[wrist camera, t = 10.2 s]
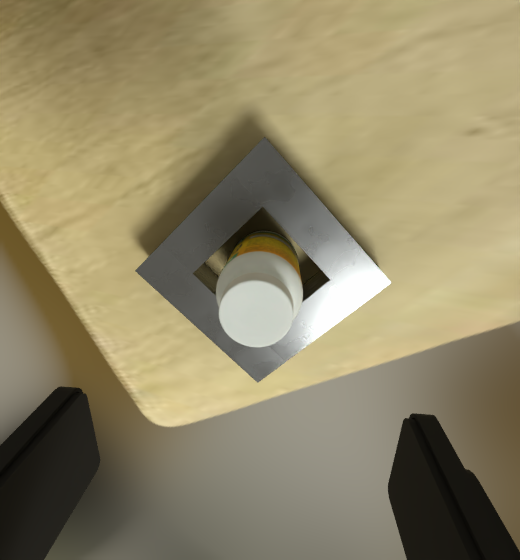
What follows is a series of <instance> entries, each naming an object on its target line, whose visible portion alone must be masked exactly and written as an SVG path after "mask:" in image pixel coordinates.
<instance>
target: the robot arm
mask: <svg viewBox="0 0 520 560" xmlns="http://www.w3.org/2000/svg"><path fill="white" fill-rule="evenodd" d="M99 463H100V456H99V451H98V446H97V441H96V437H95V432H94V427H93V422H92V418H91V413H90V408H89V403H88V398H87V395H86V394H83V392H82V390H81V389H80V388H72V387H58V388H57V389H55V390H54V391H53V392H52V393H51V394H50V395H49V397H47V399H46V400H45V401H44V402H43V403H42V404H41V405H40V406H39V407H38V408H37V409H36V410H35V411H34V412H33V413H32V414H31V415H30V416H29V417H28V418H27V419H26V420H25V421H24V422H23V423H22V424H21V425H20V426H19V427H18V428H17V429H16V430H15V431H14V432H13V433H12V434H11V435H10V436H9V437H8V438H7V439H6V440H5V441H4V442H3V444H1V446H0V560H44V559H45V557H46V555H47V554H48V552H49V550H50V549H51V547H52V545H53V544H54V542H55V540H56V539H57V537H58V535H59V533H60V532H61V530H62V529H63V527H64V525H65V523H66V522H67V520H68V518H69V517H70V515H71V513H72V512H73V510H74V509H75V507H76V505H77V503H78V502H79V500H80V499H81V497H82V495H83V493H84V492H85V490H86V489H87V487H88V485H89V483H90V482H91V480H92V478H93V477H94V475H95V473H96V472H97V470H98V467H99ZM388 494H389V499H390V503H391V506H392V509H393V513H394V516H395V520H396V523H397V527H398V530H399V534H400V537H401V541H402V544H403V547H404V551H405V554H406V558H407V560H520V552H519V550H518V548H517V547H516V545H515V543H514V541H513V540H512V538H511V536H510V534H509V533H508V531H507V529H506V527H505V526H504V524H503V522H502V520H501V519H500V517H499V515H498V513H497V512H496V510H495V508H494V507H493V505H492V503H491V501H490V500H489V498H488V496H487V494H486V493H485V491H484V489H483V487H482V486H481V484H480V482H479V481H478V479H477V478H476V476H475V475H474V474H473V473H472V472H471V471H470V470H466V469H465V468H464V466H463V465H462V463H461V461H460V459H459V458H458V456H457V454H456V452H455V450H454V449H453V447H452V445H451V443H450V441H449V439H448V438H447V436H446V434H445V432H444V431H443V429H442V427H441V425H440V423H439V421H438V420H437V418H436V417H435V416H434V415H425V414H411V415H410V417H409V419H407V418H405V419H404V420H403V424H402V428H401V432H400V437H399V441H398V445H397V450H396V454H395V458H394V462H393V466H392V471H391V475H390V479H389V483H388Z"/></svg>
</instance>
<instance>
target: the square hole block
mask: <svg viewBox="0 0 520 560" xmlns="http://www.w3.org/2000/svg"><path fill="white" fill-rule="evenodd" d="M262 207H264V208H265V210H266V211H267V212H268V213H269V214H270V215H271V216H272V217H273V218H274V219H275V220H276V221H277V223H278V224H279V225H280V226H281V227H282V228H283V229H284V230H285V231H286V232H287V233H288V234H289V235H290V237H291V238H292V239H293V240H294V241H295V242H296V243H297V244H298V245H299V246H300V247H301V248H302V250H303V251H304V252H305V253H306V254H307V255H308V256H309V257H310V258H311V259H312V260H313V261H314V263H315V264H316V265H317V266H318V267H319V268H320V269H321V271H319V272H318V273H317V274H316V275H315V276H313V277H312V278H311V279H310V280H308V281H307V282H306V283H305V284H304V285H302V287H303V300H302V305H301V308H300V310H299V312H298V314H297V316H296V317H295V318H294V320H293V321H292V325H291V327H290V329H289V331H288V332H287V334H286V335H285V336H284V337H283V338H282V339H281V340H279V341H278V342H276V343H274V344H272V345H269V346H265V347H249V346H245V345H242V344H240V343H238V342H236V341H234V340H233V339H232V338H231V337H229V336H228V335H227V333H226V332H225V331H224V329H223V327H222V325H221V323H220V319H219V306H218V303H217V299H216V286H217V281H218V278H219V277H218V276H217V275H216V274H215V273H214V272H213V271H212V270H211V269H210V268H208V267H207V266H206V265H205V264H204V262H205V261H206V260H207V259H208V258H209V257H210V256H211V255H212V254H213V253H215V252H216V251H217V250H218V249H219V248H220V247H221V246H222V245H223V244H224V243H225V242H226V241H227V240H228V239H229V238H230V237H231V236H232V235H233V234H234V233H235V232H237V231H238V230H239V229H240V228H241V227H242V226H243V225H244V224H245V223H246V222H247V221H248V220H249V219H250V218H251V217H252V216H253V215H254V214H255V213H256V212H258V211H259V210H260V209H261V208H262ZM135 271H136V272H137V273H138V274H139V275H140V276H141V277H142V278H143V279H145V280H146V281H147V282H148V283H149V284H150V285H151V286H152V287H153V288H154V289H156V290H157V291H158V292H159V293H160V294H161V295H162V296H163V297H164V298H165V299H167V300H168V301H169V302H170V303H171V304H172V305H173V306H174V307H175V308H176V309H177V310H179V311H180V312H181V313H182V314H183V315H184V316H185V317H186V318H187V319H188V320H190V321H191V322H192V323H193V324H194V325H195V326H196V327H197V328H198V329H199V330H201V331H202V332H203V333H204V334H205V335H206V336H207V337H208V338H209V339H210V340H212V341H213V342H214V343H215V344H216V345H217V346H218V347H219V348H220V349H221V350H222V351H224V352H225V353H226V354H227V355H228V356H229V357H230V358H231V359H232V360H233V361H235V362H236V363H237V364H238V365H239V366H240V367H241V368H242V369H243V370H244V371H246V372H247V373H248V374H249V375H250V376H251V377H252V378H253V379H254V380H255V381H257V382H259V381H261V380H262V379H263V378H265V377H266V376H267V375H269V374H270V373H271V372H273V371H274V370H275V369H277V368H278V367H279V366H281V365H282V364H283V363H285V362H286V361H287V360H289V359H290V358H291V357H293V356H294V355H296V354H297V353H298V352H300V351H301V350H302V349H304V348H305V347H306V346H308V345H309V344H310V343H312V342H313V341H314V340H316V339H317V338H318V337H320V336H321V335H322V334H324V333H325V332H326V331H328V330H329V329H330V328H332V327H333V326H334V325H336V324H337V323H338V322H340V321H341V320H342V319H344V318H345V317H346V316H348V315H349V314H350V313H352V312H353V311H354V310H356V309H357V308H358V307H360V306H361V305H362V304H364V303H365V302H366V301H368V300H369V299H370V298H372V297H373V296H374V295H376V294H377V293H378V292H380V291H381V290H382V289H384V288H385V287H386V286H388V285H389V284H391V281H390V280H389V279H388V278H387V277H386V276H385V274H384V273H383V272H382V271H381V270H380V269H379V268H378V266H377V265H376V264H375V263H374V262H373V261H372V259H371V258H370V257H369V256H368V255H367V254H366V253H365V251H364V250H363V249H362V248H361V247H360V246H359V245H358V243H357V242H356V241H355V240H354V239H353V238H352V236H351V235H350V234H349V233H348V232H347V231H346V230H345V228H344V227H343V226H342V225H341V224H340V223H339V222H338V220H337V219H336V218H335V217H334V216H333V215H332V213H331V212H330V211H329V210H328V209H327V208H326V207H325V205H324V204H323V203H322V202H321V201H320V200H319V199H318V197H317V196H316V195H315V194H314V193H313V192H312V190H311V189H310V188H309V187H308V186H307V185H306V184H305V182H304V181H303V180H302V179H301V178H300V177H299V176H298V174H297V173H296V172H295V171H294V170H293V169H292V167H291V166H290V165H289V164H288V163H287V162H286V161H285V159H284V158H283V157H282V156H281V155H280V154H279V153H278V151H277V150H276V149H275V148H274V147H273V146H272V144H271V143H270V142H269V141H268V140H267V139H266V138H265V137H264V138H263V139H262V140H261V141H260V142H259V143H258V144H257V145H256V146H255V147H254V148H253V149H252V150H251V151H250V152H249V154H248V155H247V156H246V157H245V158H244V159H243V160H242V161H241V162H240V163H239V164H238V165H237V166H236V167H235V168H234V169H233V170H232V171H231V172H230V173H229V174H228V175H227V176H226V177H225V178H224V179H223V180H222V181H221V182H220V184H219V185H218V186H217V187H216V188H215V189H214V190H213V191H212V192H211V193H210V194H209V195H208V196H207V197H206V198H205V199H204V200H203V201H202V202H201V203H200V204H199V205H198V206H197V207H196V208H195V209H194V210H193V211H192V213H191V214H190V215H189V216H188V217H187V218H186V219H185V220H184V221H183V222H182V223H181V224H180V225H179V226H178V227H177V228H176V229H175V230H174V231H173V232H172V233H171V234H170V235H169V236H168V237H167V238H166V239H165V240H164V241H163V243H162V244H161V245H160V246H159V247H158V248H157V249H156V250H155V251H154V252H153V253H152V254H151V255H150V256H149V257H148V258H147V259H146V260H145V261H144V262H143V263H142V264H141V265H140V266H139V267H138V268H137V269H136V270H135Z"/></svg>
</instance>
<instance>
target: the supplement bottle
mask: <svg viewBox="0 0 520 560" xmlns="http://www.w3.org/2000/svg"><path fill="white" fill-rule="evenodd" d="M216 299H217V303H218V306H219V319H220V323H221V325H222V327H223V329H224V331H225V332H226V333H227V335H228V336H229V337H231V338H232V339H233V340H234V341H236V342H238V343H240V344H242V345H245V346H249V347H265V346H269V345H272V344H274V343H276V342H278V341H279V340H281V339H282V338H283V337H284V336H285V335H286V334H287V332H288V331H289V329H290V327H291V325H292V321H293V320H294V318H295V317H296V316H297V314H298V312H299V310H300V308H301V305H302V300H303V287H302V281H301V275H300V269H299V262H298V257H297V254H296V252H295V249H294V248H293V246H292V245H291V243H290V242H289V241H288V240H287V239H286V238H284V237H283V236H281V235H280V234H277V233H275V232H271V231H258V232H254V233H251V234H249V235H247V236H246V237H244V238H243V239H242V240H240V241H239V242H238V244H237V245H236V246H235V248H234V250H233V252H232V254H231V255H230V257H229V259H228V261H227V263H226V265H225V266H224V268H223V270H222V272H221V274H220V276H219V278H218V281H217V286H216Z"/></svg>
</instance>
